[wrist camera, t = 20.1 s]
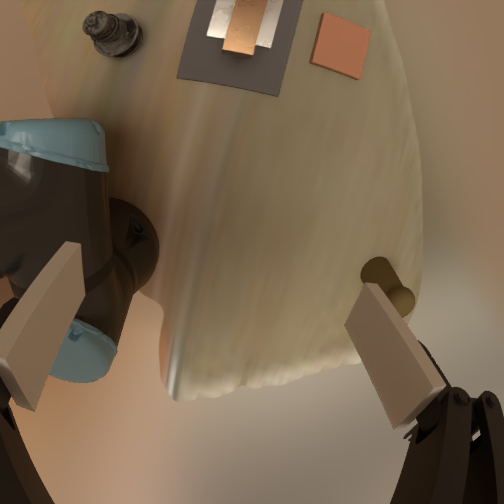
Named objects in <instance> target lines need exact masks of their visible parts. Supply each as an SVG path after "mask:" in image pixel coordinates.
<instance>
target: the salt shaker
mask: <svg viewBox="0 0 504 504" xmlns="http://www.w3.org/2000/svg"><path fill="white" fill-rule="evenodd" d="M82 27H83V31H84V32H85V33H86V34H87V35H90V37H91V39H92V40H93V42H94V46H95V48H96V50H97V51H98V52H99V53H100V54H103V55H105V56H115V57H125V56H127V55H130V54H131V53H133V52H134V51H135V50H136V49H137V48H138V47H139V45H140V44H141V41H142V37H143V33H142V30H141V28H140V26H138V24H137V22H136V20H135V19H134V18H133V17H132V16H130V15H128V14H121V13H120V14H114V15H113V14H107V13H105V12H103V11H95V12H93V13H91V14H89V15H88V16H87V17H86V18H85V20H84V22H83V26H82Z"/></svg>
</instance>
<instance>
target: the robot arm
mask: <svg viewBox="0 0 504 504" xmlns="http://www.w3.org/2000/svg"><path fill="white" fill-rule="evenodd" d="M108 172H109V166H108V165H107V159H106V142H105V133H104V130H103V128H102V126H101V125H100V124H99V123H98V122H97V121H95V120H92V119H88V118H53V119H28V120H14V121H2V122H0V279H1V278H3V277H6V276H8V279H9V282H10V285H11V288H12V291H13V294H14V297H15V298H12V299H10V300H9V301H8V302H6V303H5V304H3V306H2V307H1V309H0V504H55V503H54V502H53V500H52V498H51V497H50V495H49V493H48V491H47V490H46V488H45V486H44V484H43V482H42V480H41V478H40V477H39V475H38V473H37V471H36V469H35V467H34V464H33V462H32V460H31V458H30V456H29V454H28V451H27V449H26V447H25V444H24V442H23V440H22V437H21V435H20V432H19V430H18V427H17V424H16V422H15V419H14V416H13V413H12V410H11V408H10V406H9V404H8V403H9V400H10V398H11V396H12V398H13V399H14V401H15V403H16V404H17V405H18V406H21V407H23V408H26V409H28V410H31V411H34V412H35V410H36V407H37V404H38V401H39V398H40V395H41V393H42V390H43V387H44V385H45V382H46V380H47V377H48V375H51V376H53V377H56V378H59V379H62V380H65V381H69V382H75V383H89V382H94V381H96V380H98V379H100V378H102V377H104V376H105V375H106V374H107V372H108V371H109V369H110V366H111V364H112V361H113V359H114V357H115V356H116V354H117V346H118V343H119V339H120V336H121V332H122V329H123V325H124V322H125V319H126V315H127V313H128V309H129V306H130V303H131V300H132V297H133V294H135V293H136V292H137V291H138V290H139V289H140V288H141V287H142V286H143V285H144V284H145V283H147V281H148V280H149V279H150V277H151V276H152V274H153V272H154V270H155V267H156V264H157V261H158V256H159V242H158V238H157V234H156V232H155V229H154V227H153V225H152V224H151V222H150V221H149V219H148V218H147V217H146V216H145V215H144V214H143V213H142V212H141V211H140V210H139V209H137V208H136V207H134V206H133V205H131V204H129V203H127V202H125V201H122V200H118V199H113V198H109V197H108ZM345 327H346V329H347V331H348V333H349V335H350V337H351V339H352V341H353V343H354V345H355V347H356V349H357V352H358V354H359V356H360V358H361V360H362V362H363V364H364V366H365V368H366V370H367V372H368V374H369V376H370V379H371V381H372V383H373V385H374V387H375V389H376V391H377V394H378V396H379V398H380V400H381V402H382V404H383V407H384V409H385V411H386V413H387V415H388V418H389V420H390V422H391V425H392V427H393V429H399V428H403V427H406V426H408V425H409V424H410V423H411V422H412V421H413V420H414V419H415V418H416V420H417V422H418V424H416V425H415V426H414V427H413V428H412V429H411V430H410V431H409V432H408V433H407V434H406V435H405V436H404V439H406V438H407V437H408V436H409V435H411V434H412V436H411V438H410V439H409V440H408V441H410V444H409V448H408V452H407V455H406V458H405V462H404V465H403V468H402V471H401V474H400V477H399V480H398V483H397V486H396V489H395V492H394V494H393V497H392V500H391V502H390V504H504V416H503V412H502V409H501V405H500V402H499V400H498V398H497V397H496V395H495V394H493V393H492V392H490V391H484V392H483V393H482V394H481V395H480V396H479V397H478V398H470V397H469V395H468V394H467V393H466V391H465V390H463V389H462V388H459V387H453V388H452V387H451V385H450V384H449V383H448V380H447V379H446V377H445V376H444V374H443V373H442V371H441V370H440V368H439V366H438V365H437V364H436V362H435V360H434V359H433V358H432V357H431V354H430V353H429V351H428V350H427V348H426V347H425V346H424V345H423V344H422V343H421V342H420V341H419V340H417V339H416V337H415V336H414V334H413V333H412V332H411V330H410V329H409V327H408V326H407V324H406V323H405V321H404V320H403V319H402V317H401V316H400V314H399V313H398V311H397V310H396V309H395V307H394V306H393V304H392V303H391V302H390V300H389V299H388V298H387V296H386V295H385V294H384V292H383V291H382V289H381V288H380V287H379V285H378V284H374V283H365V284H364V286H363V288H362V290H361V292H360V295H359V297H358V299H357V301H356V303H355V305H354V307H353V309H352V311H351V313H350V315H349V317H348V319H347V321H346V323H345ZM478 430H480V434H481V435H480V436H479V437H478V438H477V439H475V440H474V441H473V440H472V436H473V435H474V434H475V433H476V432H478Z"/></svg>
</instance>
